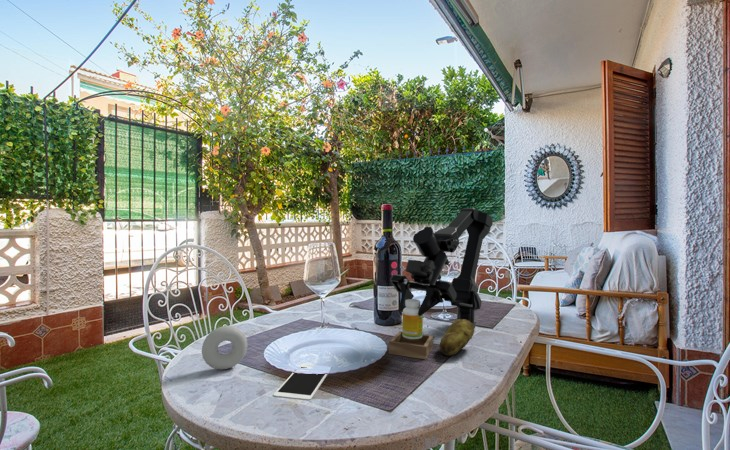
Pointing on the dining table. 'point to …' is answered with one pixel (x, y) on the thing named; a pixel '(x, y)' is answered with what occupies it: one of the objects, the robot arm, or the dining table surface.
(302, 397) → the cell phone
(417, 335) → the supplement bottle
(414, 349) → the open wooden box
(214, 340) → the donut
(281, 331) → the dining table surface
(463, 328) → the potato
